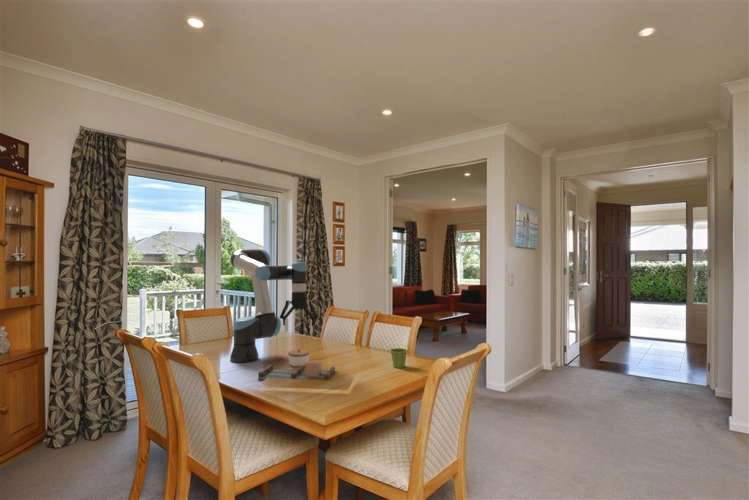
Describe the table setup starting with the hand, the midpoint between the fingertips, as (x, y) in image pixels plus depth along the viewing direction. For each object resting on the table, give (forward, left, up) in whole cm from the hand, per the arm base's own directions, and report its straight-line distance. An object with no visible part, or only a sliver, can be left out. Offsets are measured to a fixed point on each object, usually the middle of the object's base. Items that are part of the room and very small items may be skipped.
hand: (298, 332), depth 216 cm
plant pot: (-7, +52, -18) cm, 56 cm away
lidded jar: (0, 0, -18) cm, 18 cm away
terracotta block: (+18, +13, -17) cm, 28 cm away
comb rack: (+18, +5, -18) cm, 26 cm away
